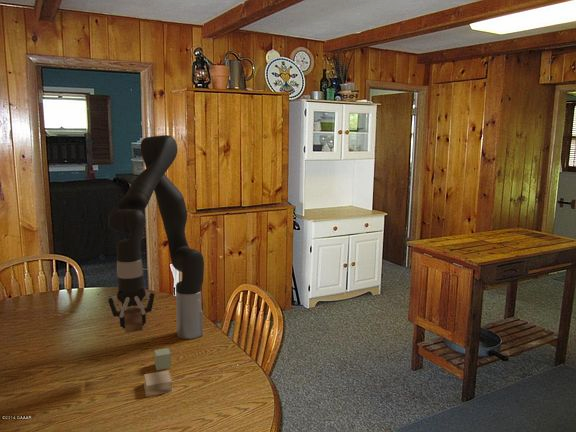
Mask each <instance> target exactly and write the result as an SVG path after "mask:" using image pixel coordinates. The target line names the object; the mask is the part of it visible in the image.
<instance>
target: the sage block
mask: <svg viewBox="0 0 576 432" xmlns="http://www.w3.org/2000/svg"><path fill="white" fill-rule="evenodd" d="M171 354H172V353H171V351H170V349H169V347H167V348H166V347H165V348H159V349H154V365H155V369H156V371H162V370H163V371H164V370H167V369H171V368H172V355H171Z"/></svg>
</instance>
